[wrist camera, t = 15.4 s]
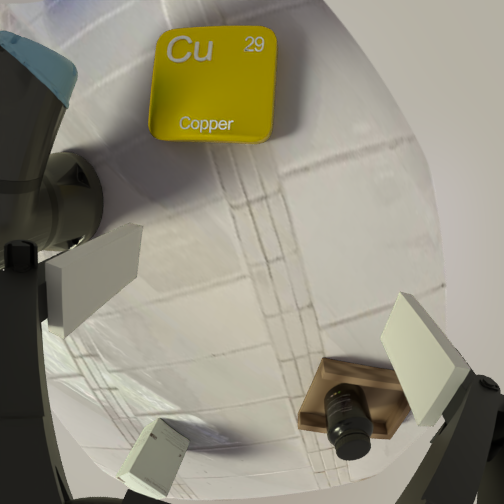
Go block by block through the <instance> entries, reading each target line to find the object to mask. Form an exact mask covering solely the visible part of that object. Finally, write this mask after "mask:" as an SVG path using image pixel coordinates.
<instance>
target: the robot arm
mask: <svg viewBox="0 0 504 504" xmlns="http://www.w3.org/2000/svg"><path fill="white" fill-rule="evenodd" d="M77 77H78V72H77V69H76V67H75V65H74V64H73V63H72V62H71V61H70V60H68V59H67V58H65V57H64V56H62V55H60V54H58V53H57V52H55V51H53V50H51V49H49V48H47V47H45V46H43V45H41V44H39V43H37V42H35V41H32V40H30V39H27V38H25V37H21V36H19V35H16V34H14V33H12V32H8V31H0V504H170V503H167V502H164V501H161V500H158V499H155V498H152V497H149V496H146V495H143V494H141V493H138V492H135V491H133V490H130V489H128V490H127V492H126V495H125V497H124V499H119V498H110V497H87V498H79V499H74V500H73V497H72V494H71V492H70V489H69V486H68V483H67V480H66V477H65V473H64V469H63V466H62V462H61V458H60V454H59V450H58V445H57V441H56V436H55V431H54V426H53V421H52V415H51V410H50V403H49V397H48V390H47V382H46V374H45V365H44V354H43V340H42V327H41V322H42V321H44V320H45V319H47V318H48V329H49V332H51V333H53V334H55V335H57V336H59V337H61V338H64V339H65V338H66V337H67V336H68V335H69V334H70V333H72V332H73V331H74V330H75V329H76V328H77V327H78V326H80V325H81V324H82V323H83V322H84V321H85V320H86V319H88V318H89V317H90V316H91V315H92V314H93V313H95V312H96V311H97V310H98V309H99V308H100V307H102V306H103V305H104V304H105V303H106V302H107V301H109V300H110V299H111V298H112V297H113V296H115V295H116V294H117V293H118V292H119V291H121V290H122V289H123V288H124V287H125V286H127V285H128V284H129V283H130V282H131V281H133V280H134V279H135V278H136V277H137V271H138V262H139V254H140V246H141V238H142V230H143V226H140V225H136V224H133V223H128V224H126V225H124V226H121V227H119V228H117V229H114V230H112V231H110V232H108V233H106V234H103V235H101V236H99V237H97V238H95V239H92V240H90V239H91V238H92V236H93V235H94V234H95V232H96V230H97V228H98V226H99V224H100V221H101V217H102V211H103V194H102V189H101V185H100V181H99V179H98V176H97V174H96V172H95V170H94V169H93V167H92V166H91V165H90V164H89V163H88V162H87V161H86V160H85V159H84V158H83V157H81V156H79V155H77V154H74V153H70V152H60V153H53V154H50V153H51V150H52V147H53V144H54V141H55V138H56V135H57V132H58V130H59V127H60V124H61V122H62V119H63V117H64V114H65V112H66V109H68V108H69V100H70V97H71V94H72V92H73V89H74V86H75V84H76V81H77ZM89 240H90V241H89ZM42 250H46V251H63V252H61V253H59V254H57V255H55V256H52V257H51V258H48V259H46V260H44V261H42V262H40V263H38V252H39V251H42ZM3 269H4V271H3ZM380 339H381V341H382V344H383V346H384V348H385V350H386V352H387V355H388V357H389V359H390V361H391V363H392V366H393V368H394V370H395V372H396V375H397V377H398V379H399V382H400V384H401V386H402V389H403V391H404V393H405V396H406V398H407V400H408V403H409V405H410V408H411V410H412V412H413V415H414V417H415V420H416V422H417V425H418V426H434V425H435V423H436V422H437V421H438V419H439V418H440V416H441V415H443V417H444V419H445V422H444V424H443V425H442V426H441V428H440V429H439V430H438V432H437V433H436V435H435V436H434V437H433V439H432V440H431V441H430V443H432V445H431V446H430V448H429V450H428V452H427V454H426V455H425V457H424V459H423V461H422V462H421V464H420V466H419V467H418V469H417V471H416V473H415V474H414V476H413V477H412V479H411V481H410V482H409V484H408V485H407V487H406V488H405V490H404V491H403V493H402V495H401V496H400V497H399V499H398V500H397V502H396V503H395V504H473V503H474V500H475V497H476V494H477V504H504V395H502V394H500V388H499V386H498V384H497V383H496V382H494V381H493V380H492V379H491V378H489V377H486V376H484V375H476V374H475V373H474V372H473V370H472V369H471V368H470V366H469V365H468V363H466V361H465V359H464V358H463V357H462V355H461V354H460V353H459V352H458V350H457V349H456V348H455V347H454V346H453V345H452V343H451V342H450V341H449V339H448V338H447V337H446V336H445V334H444V333H443V332H442V330H441V329H440V328H439V327H438V325H437V324H436V323H435V322H434V320H433V319H432V318H431V317H430V316H429V314H428V313H427V312H426V311H425V309H424V308H423V307H422V306H421V305H420V303H419V302H418V301H417V300H416V299H415V298H414V296H413V295H411V294H407V293H403V292H399V295H398V297H397V300H396V302H395V305H394V307H393V310H392V312H391V315H390V317H389V319H388V322H387V324H386V326H385V329H384V331H383V333H382V335H381V338H380ZM477 492H478V493H477Z"/></svg>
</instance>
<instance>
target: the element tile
mask: <svg viewBox="0 0 504 504" xmlns="http://www.w3.org/2000/svg"><path fill="white" fill-rule="evenodd" d="M277 55H278V46H277V38H276V36H275V33H274V32H273V31H272V30H271V29H269V28H267V27H264V26H207V27H191V28H179V29H172V30H169V31H166V32H164V33H163V34H162V35H161V36H160V38H159V39H158V41H157V44H156V51H155V59H154V67H153V76H152V85H151V96H150V107H149V120H148V127H149V131H150V133H151V135H152V136H153V137H154V138H156V139H159V140H165V141H172V142H218V143H241V144H260V143H263V142H265V141H266V140H267V139H269V137H270V135H271V133H272V130H273V117H274V102H275V87H276V71H277Z"/></svg>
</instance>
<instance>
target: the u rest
mask: <svg viewBox="0 0 504 504" xmlns="http://www.w3.org/2000/svg"><path fill="white" fill-rule="evenodd" d="M342 383H349V384H355V385H359V386H360V387H361V388H362V389H363V390H364V393H365V396H366V399H367V403H368V406H369V410H370V414H371V417H372V421H373V426H374V430H373V433H372V435H371V437H370V438H375V439H391V438H392V436H393V435H394V433H395V432H396V431H397V429H398V428H399V426H400V425H401V423H402V422H403V420H404V419H405V417H406V416H407V414H408V413H409V411H410V410H411V408H410V405H409V403H408V400H407V398H406V396H405V393H404V391H403V389H402V386H401V384H400V382H399V379H398V377H397V375H396V372H395V370H389V369H382V368H376V367H371V366H365V365H359V364H354V363H348V362H343V361H338V360H333V359H327V358H322V360H321V363H320V365H319V367H318V370H317V372H316V374H315V377H314V379H313V381H312V384H311V386H310V388H309V390H308V393H307V395H306V397H305V399H304V401H303V404H302V406H301V408H300V410H299V412H298V429H301V430H307V431H313V432H320V433H327V429H326V419H325V410H324V398H325V395H326V394H327V392H328V391H329V390H330V389H331V388H333V387H334V386H336V385H339V384H342Z"/></svg>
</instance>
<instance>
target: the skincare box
mask: <svg viewBox="0 0 504 504" xmlns="http://www.w3.org/2000/svg"><path fill="white" fill-rule="evenodd" d="M189 443H190V441H189V440H188V439H187V438H185V437H183V436H182V435H181V434H179V433H178V432H176V431H175V430H174V429H172V428H171V427H170V426H168V425H167V424H166V423H165V422H164V421H162V420H161V419H159V418H158V419H157V420H155V421H154V422H152V423H151V424H149V425H147V426H146V427H145V428H144V429H143V431H142V433H141V434H140V436H139V438H138V440H137V441H136V443H135V445H134V446H133V448H132V450H131V452H130V453H129V455H128V457H127V458H126V460H125V462H124V464H123V465H122V467H121V469H120V470H119V472H118V474H117V475H116V478H117V479H118V480H120V481H121V482H122V483H124V484H125V485H127V486H128V487H129V488H130V489H131V490H133V491H135V492H138V493H141V494H143V495H146V496H149V497H152V498H155V499H162V498H166V497H167V495H168V493H169V490H170V488H171V486H172V483H173V481H174V479H175V476H176V474H177V472H178V469H179V467H180V465H181V462H182V460H183V458H184V455H185V453H186V450H187V448H188V446H189Z"/></svg>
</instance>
